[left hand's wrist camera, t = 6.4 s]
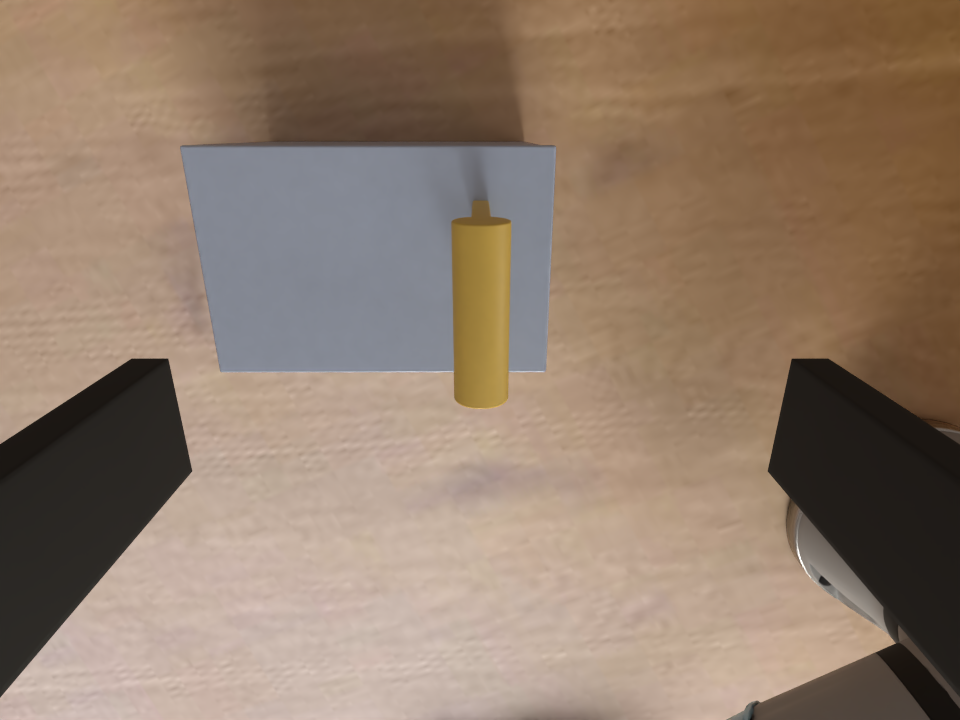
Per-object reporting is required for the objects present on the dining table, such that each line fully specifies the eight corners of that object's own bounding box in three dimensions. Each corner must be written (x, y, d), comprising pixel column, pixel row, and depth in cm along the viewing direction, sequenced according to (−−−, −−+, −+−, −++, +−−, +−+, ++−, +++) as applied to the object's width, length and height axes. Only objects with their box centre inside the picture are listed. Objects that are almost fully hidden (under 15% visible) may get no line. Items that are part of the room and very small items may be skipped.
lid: (554, 145, 25) (591, 151, 16) (544, 366, 28) (571, 462, 20) (188, 145, 25) (41, 151, 16) (226, 366, 28) (123, 462, 20)
